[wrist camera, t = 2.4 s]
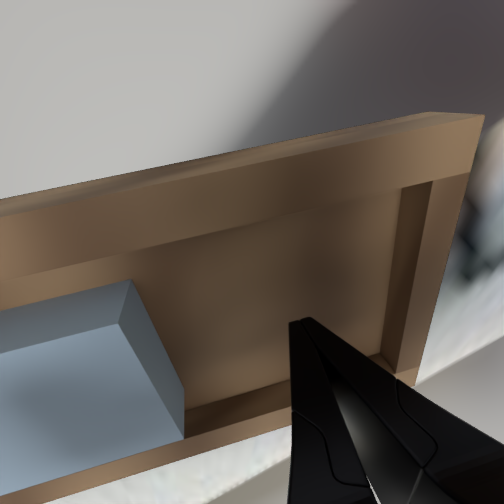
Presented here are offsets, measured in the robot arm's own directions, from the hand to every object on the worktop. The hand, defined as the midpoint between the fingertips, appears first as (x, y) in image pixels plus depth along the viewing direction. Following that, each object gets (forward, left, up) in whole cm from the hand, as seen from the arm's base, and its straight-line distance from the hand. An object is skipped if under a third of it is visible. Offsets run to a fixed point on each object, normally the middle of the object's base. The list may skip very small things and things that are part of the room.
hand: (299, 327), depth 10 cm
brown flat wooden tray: (+4, 0, -2) cm, 5 cm away
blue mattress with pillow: (+9, 0, -1) cm, 10 cm away
